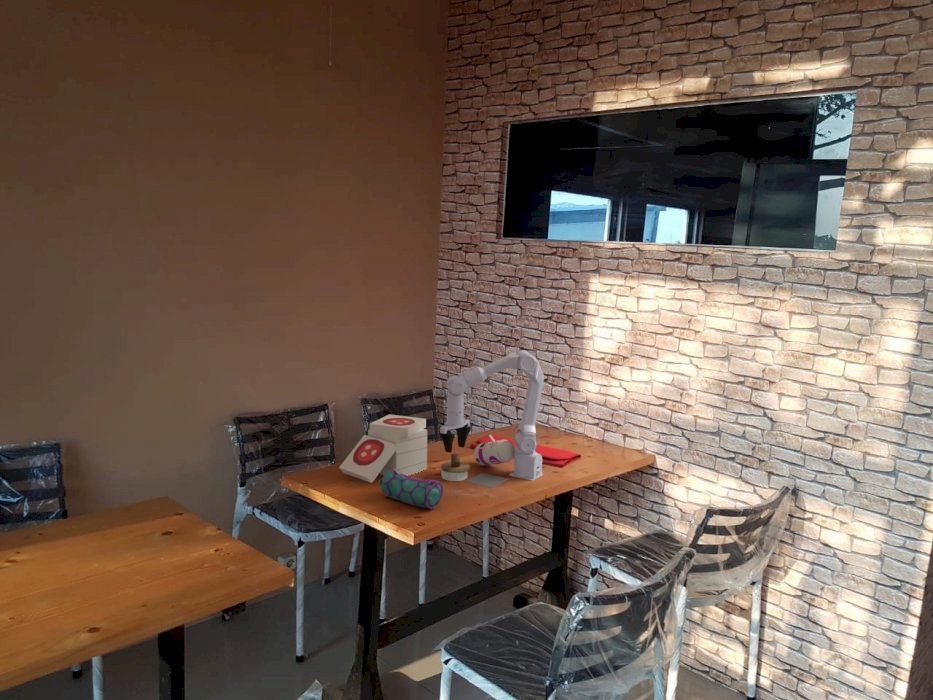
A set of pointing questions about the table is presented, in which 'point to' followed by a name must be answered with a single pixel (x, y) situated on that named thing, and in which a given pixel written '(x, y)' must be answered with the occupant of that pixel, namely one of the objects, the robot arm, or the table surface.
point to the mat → (487, 480)
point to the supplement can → (494, 452)
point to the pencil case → (411, 489)
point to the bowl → (454, 476)
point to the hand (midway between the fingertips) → (454, 449)
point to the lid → (455, 465)
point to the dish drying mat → (538, 451)
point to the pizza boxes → (389, 448)
